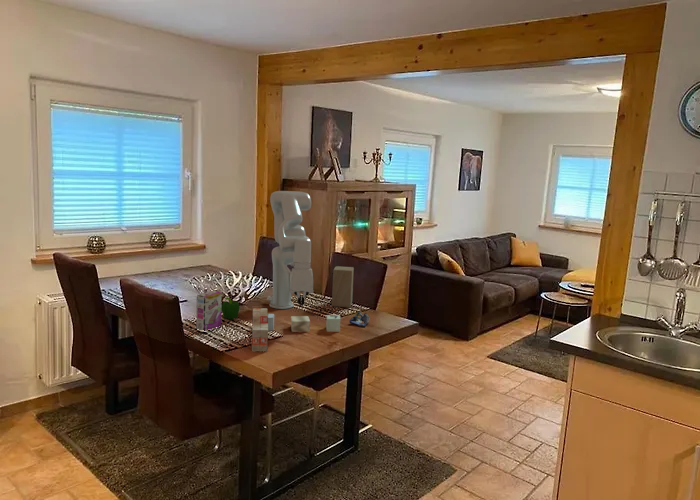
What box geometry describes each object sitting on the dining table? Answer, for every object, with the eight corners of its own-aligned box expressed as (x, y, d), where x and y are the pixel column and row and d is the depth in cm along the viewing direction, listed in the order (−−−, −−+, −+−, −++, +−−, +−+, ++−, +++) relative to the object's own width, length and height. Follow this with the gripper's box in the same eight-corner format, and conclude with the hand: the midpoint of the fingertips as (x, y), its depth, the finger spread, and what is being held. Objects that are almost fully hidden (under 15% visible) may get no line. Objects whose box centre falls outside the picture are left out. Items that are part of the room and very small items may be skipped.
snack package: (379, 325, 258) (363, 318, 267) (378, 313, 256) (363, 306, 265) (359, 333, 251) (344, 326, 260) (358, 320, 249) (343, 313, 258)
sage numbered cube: (326, 331, 244) (327, 318, 243) (326, 327, 250) (326, 314, 249) (340, 331, 244) (340, 318, 243) (339, 327, 250) (339, 314, 249)
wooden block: (352, 303, 295) (353, 267, 292) (350, 307, 285) (352, 270, 282) (334, 301, 296) (335, 265, 293) (331, 306, 286) (333, 269, 283)
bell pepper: (243, 317, 259) (243, 297, 258) (232, 321, 252) (232, 300, 250) (228, 314, 263) (229, 294, 261) (218, 318, 255) (218, 298, 254)
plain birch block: (291, 332, 241) (292, 321, 240) (290, 326, 249) (291, 316, 248) (309, 332, 243) (310, 321, 242) (308, 326, 250) (308, 316, 250)
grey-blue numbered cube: (259, 330, 241) (259, 316, 240) (260, 326, 247) (261, 313, 246) (273, 330, 242) (273, 317, 241) (273, 326, 248) (274, 313, 247)
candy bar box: (204, 333, 233) (204, 296, 230) (195, 331, 235) (195, 295, 233) (222, 327, 243) (222, 291, 240) (213, 325, 245) (213, 290, 243)
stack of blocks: (267, 352, 215) (268, 322, 213) (251, 352, 213) (252, 322, 212) (267, 335, 235) (267, 307, 233) (252, 335, 234) (252, 307, 232)
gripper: (284, 266, 237) (284, 307, 239) (319, 267, 238) (317, 308, 240) (285, 263, 244) (284, 303, 247) (318, 264, 245) (317, 304, 248)
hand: (301, 305), depth 244 cm, fingers closed
